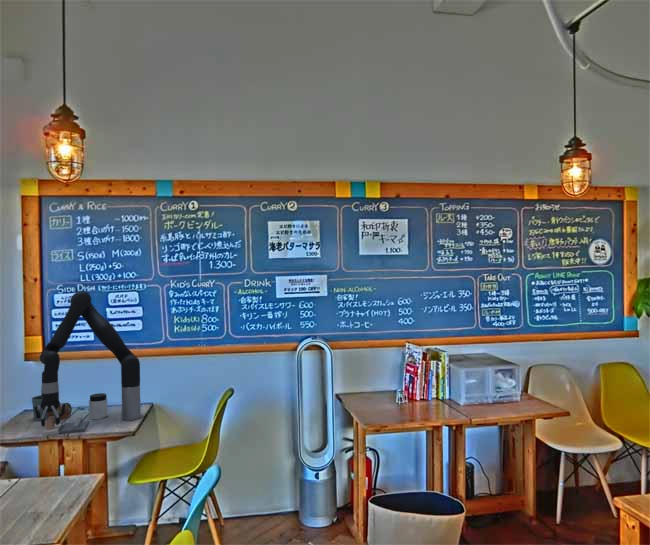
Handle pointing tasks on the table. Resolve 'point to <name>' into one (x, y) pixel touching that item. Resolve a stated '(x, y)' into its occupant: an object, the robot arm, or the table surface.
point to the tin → (66, 413)
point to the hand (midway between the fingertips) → (50, 425)
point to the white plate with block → (51, 426)
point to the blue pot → (37, 401)
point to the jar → (98, 406)
